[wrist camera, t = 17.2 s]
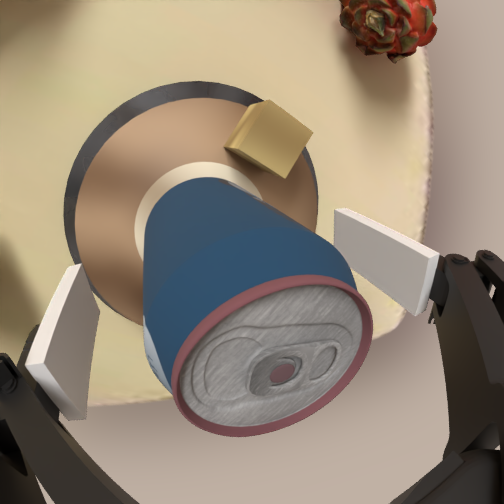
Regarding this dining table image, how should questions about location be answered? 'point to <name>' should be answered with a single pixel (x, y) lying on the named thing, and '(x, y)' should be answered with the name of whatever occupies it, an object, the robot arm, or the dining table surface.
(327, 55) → the dining table surface
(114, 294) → the turntable
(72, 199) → the turntable base
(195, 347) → the soda can
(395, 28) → the dragon fruit
